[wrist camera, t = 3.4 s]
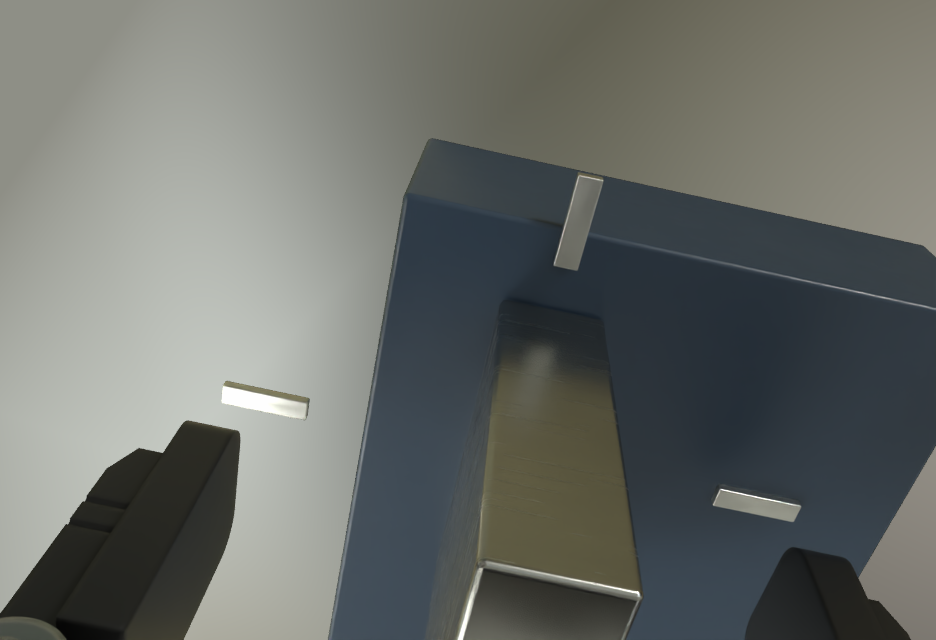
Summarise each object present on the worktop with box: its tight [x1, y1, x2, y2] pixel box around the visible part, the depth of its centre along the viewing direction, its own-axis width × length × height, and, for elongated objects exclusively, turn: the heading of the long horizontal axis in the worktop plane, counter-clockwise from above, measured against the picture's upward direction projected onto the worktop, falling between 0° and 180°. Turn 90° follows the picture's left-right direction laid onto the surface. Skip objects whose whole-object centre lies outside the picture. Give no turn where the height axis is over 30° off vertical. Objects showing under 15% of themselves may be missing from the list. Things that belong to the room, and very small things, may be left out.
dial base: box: [222, 138, 936, 640], centre depth 15 cm, size 11×11×3 cm
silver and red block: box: [425, 300, 644, 640], centre depth 11 cm, size 6×2×6 cm, turn 169°
